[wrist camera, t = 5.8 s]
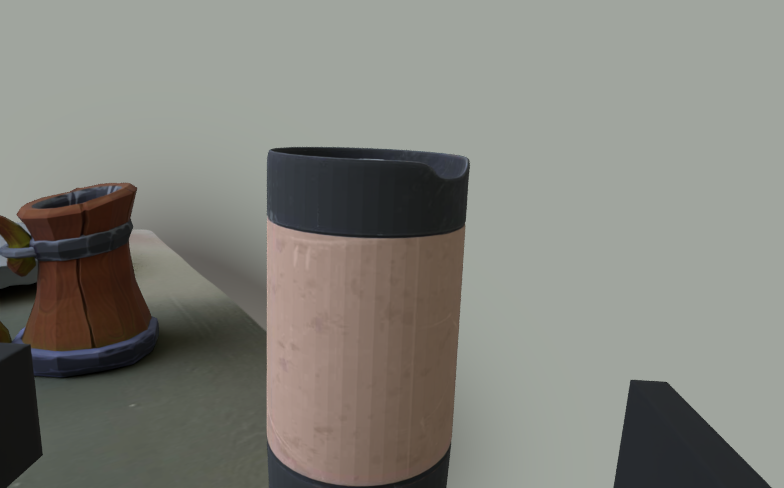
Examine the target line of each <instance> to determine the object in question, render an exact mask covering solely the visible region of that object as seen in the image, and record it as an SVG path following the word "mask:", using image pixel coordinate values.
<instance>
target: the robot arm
mask: <svg viewBox="0 0 784 488" xmlns="http://www.w3.org/2000/svg"><path fill="white" fill-rule="evenodd" d="M42 455H43V453H42V444H41V435H40V426H39V417H38V408H37V399H36V390H35V380H34V371H33V362H32V353H31V344H17V343H0V488H7V487H8V486H9V485H10V484H11V483H12V482H13V481H14V480H15V479H17V478H18V477H19V476H20V475H21V474H22V473H23V472H24V471H26V470H27V469H28V468H29V467H30V466H31V465H32V464H33V463H34V462H36V461H37V460H38V459H39V458H40V457H41V456H42ZM614 488H771V487H770V486H769V485H768V484H767V483H766V481H765V480H763V478H762V477H761V476H760V475H759V474H758V473H757V472H756V471H754V469H753V468H752V467H751V466H750V465H749V464H747V462H746V461H745V460H744V459H743V458H742V457H741V456H740V455H738V453H737V452H736V451H735V450H734V449H733V448H732V447H731V446H730V445H729V444H728V443H727V442H726V441H725V440H724V439H723V438H722V437H721V436H720V435H719V434H718V433H717V432H716V431H715V430H714V429H713V428H712V427H711V426H710V425H709V424H708V423H707V422H706V421H705V420H704V419H703V418H702V417H701V416H700V415H699V414H698V413H697V412H696V411H695V410H694V409H693V408H692V407H691V406H690V405H689V404H688V403H687V402H686V401H685V400H684V399H683V398H682V397H681V396H680V395H679V394H678V393H677V392H676V391H675V390H674V389H673V388H672V387H671V386H670V385H669V384H668V383H667V382H659V381H642V380H631V381H630V387H629V393H628V400H627V406H626V412H625V419H624V425H623V431H622V438H621V444H620V450H619V457H618V463H617V469H616V476H615V482H614Z"/></svg>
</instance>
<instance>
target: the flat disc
mask: <svg viewBox="0 0 784 488" xmlns="http://www.w3.org/2000/svg"><path fill="white" fill-rule="evenodd" d="M17 224H19V225H20V226H21V227H22V228H23V229H24V230H26V231H27V232H28V233H29V231H28V229H27V227H26V226H25V224H24V223H17ZM29 234H30V233H29ZM30 235H31V234H30ZM5 244H7V242H6V241H5V240H4V238H3V237H2V236H1V235H0V248H1V247H2V246H3V245H5ZM35 260H36V266H35V267H34V268H33V269H32V270H31V271H30V272H29V273H28V274H27V275H26V276H24V277H21V276H19V275H17V274H15V273H13V272H12V271H11V270H10V269H9V268H8V267H7V258H5V257H3V256H1V255H0V289H2V288H6V287H8V286H14V285H24V284H25V285H29V284H32V283H35V282H37V274H38V260H37V259H35Z"/></svg>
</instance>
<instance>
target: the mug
mask: <svg viewBox="0 0 784 488" xmlns="http://www.w3.org/2000/svg"><path fill="white" fill-rule="evenodd" d="M136 191H137V187H135V186H133V185H132V184H130V183H106V184H98V185H94V186H89V187H84V188H76V189H74V190H72V191H70V192H67V193H61V194H57V195H52V196H48V197H43V198H40V199H37V200H34V201H32V202H29V203H27V204H25V205H24V206H23V207H21V209H20V210H19V212H18V213H17V216H18V217H19V218H20V220H21V221H22V222H23V223H24V224H25V226H26V227H27V229H28V231H29V233H30V234H31V235H30V234H29V233H28V232H27V231H26V230H24V229H23V228H22V227H21V226H20V225H19V224H17V223H15V222H13V221H11V220H9V219H7V218H6V217H3V216H0V235H1V236H2V237H3V238H4V240H5V241H6V242H7V244H5V245H3V246H2V247H1V248H0V255H1V256H3V257H5V258H7V267H8V268H9V269H10V270H11V271H12V272H13V273H15V274H17V275H19V276H21V277H24V276H26V275H27V274H28V273H29V272H30V271H31V270H32V269H33V268H34V267H35V266H36V260H35V259H37V260H38V274H37V292H36V297H35V302H34V305H33V308H32V311H31V314H30V316H29V319H28V321H27V324H26V327H25V328H23V329H21V330H20V332H19V333H18V335H17V336H16V337H15V339H14V340H13V341H12V340H11V337H10V334H9V331H8V329H7V328H6V327H5V326H4V325H3V324H2V323H1V322H0V343H17V344H31V353H32V362H33V371H34V376H50V377H68V376H74V375H80V374H86V373H92V372H99V371H104V370H108V369H113V368H118V367H122V366H127V365H131V364H134V363H135V362H137V361H138V360H140V359H141V358H142V357H144V356H145V355H147V354H148V353H150V352H151V351H152V350H153V348H154V346H155V343H156V341H157V338H158V336H159V324H158V320H157V318H155V317H152V316H151V314H150V311H149V309H148V307H147V304H146V302H145V300H144V298H143V296H142V294H141V291H140V289H139V287H138V284H137V282H136V278H135V274H134V270H133V265H132V260H131V255H130V248H129V237H130V234H131V231H132V229H133V225H132V222H131V219H130V217H131V212H132V208H133V203H134V199H135V195H136Z"/></svg>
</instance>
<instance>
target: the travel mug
mask: <svg viewBox="0 0 784 488" xmlns="http://www.w3.org/2000/svg"><path fill="white" fill-rule="evenodd" d="M469 169H470V163H469V159H468V158H467V157H464V156H460V155H452V154H444V153H435V152H423V151H422V152H421V151H409V150H393V149H373V148H344V147H343V148H342V147H289V148H275V149H271V150H269V153H268V157H267V216H268V218H267V450H268V472H269V488H446V485H447V476H448V466H449V458H450V449H451V438H452V426H453V411H454V395H455V380H456V364H457V348H458V333H459V317H460V302H461V285H462V271H463V255H464V240H465V221H466V209H467V194H468V179H469Z"/></svg>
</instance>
